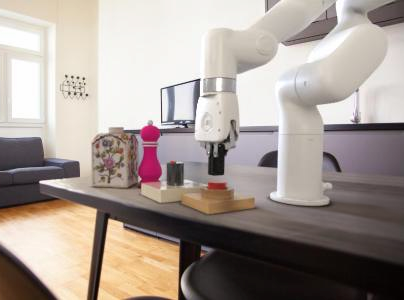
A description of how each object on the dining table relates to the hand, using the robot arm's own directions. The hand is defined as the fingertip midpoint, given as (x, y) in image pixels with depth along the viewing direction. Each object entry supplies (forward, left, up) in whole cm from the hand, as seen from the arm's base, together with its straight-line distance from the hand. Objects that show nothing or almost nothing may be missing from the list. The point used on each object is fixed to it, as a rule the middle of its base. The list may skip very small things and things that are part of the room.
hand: (216, 174), depth 64 cm
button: (0, 0, -3) cm, 3 cm away
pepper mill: (+3, -28, -7) cm, 29 cm away
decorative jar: (+11, -36, -7) cm, 38 cm away
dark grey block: (+3, -13, -4) cm, 14 cm away
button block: (0, 0, -7) cm, 7 cm away
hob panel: (+3, -13, -7) cm, 15 cm away
